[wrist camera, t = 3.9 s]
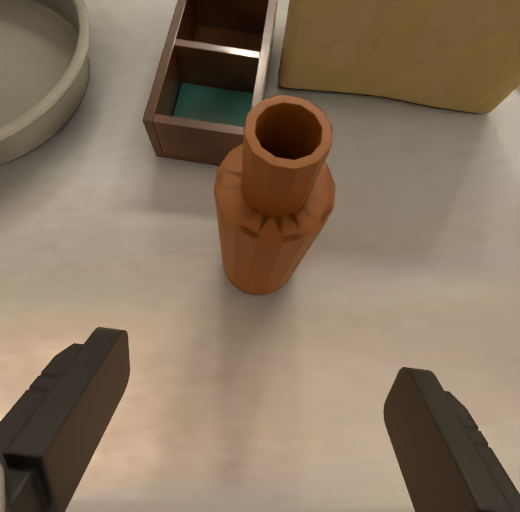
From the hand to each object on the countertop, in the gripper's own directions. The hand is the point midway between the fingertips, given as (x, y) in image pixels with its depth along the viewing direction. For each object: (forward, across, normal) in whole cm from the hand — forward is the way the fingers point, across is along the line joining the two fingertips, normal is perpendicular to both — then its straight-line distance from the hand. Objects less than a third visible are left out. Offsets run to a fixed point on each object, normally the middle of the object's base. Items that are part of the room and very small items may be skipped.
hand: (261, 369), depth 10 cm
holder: (+29, +6, -7) cm, 30 cm away
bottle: (+17, 0, +5) cm, 18 cm away
